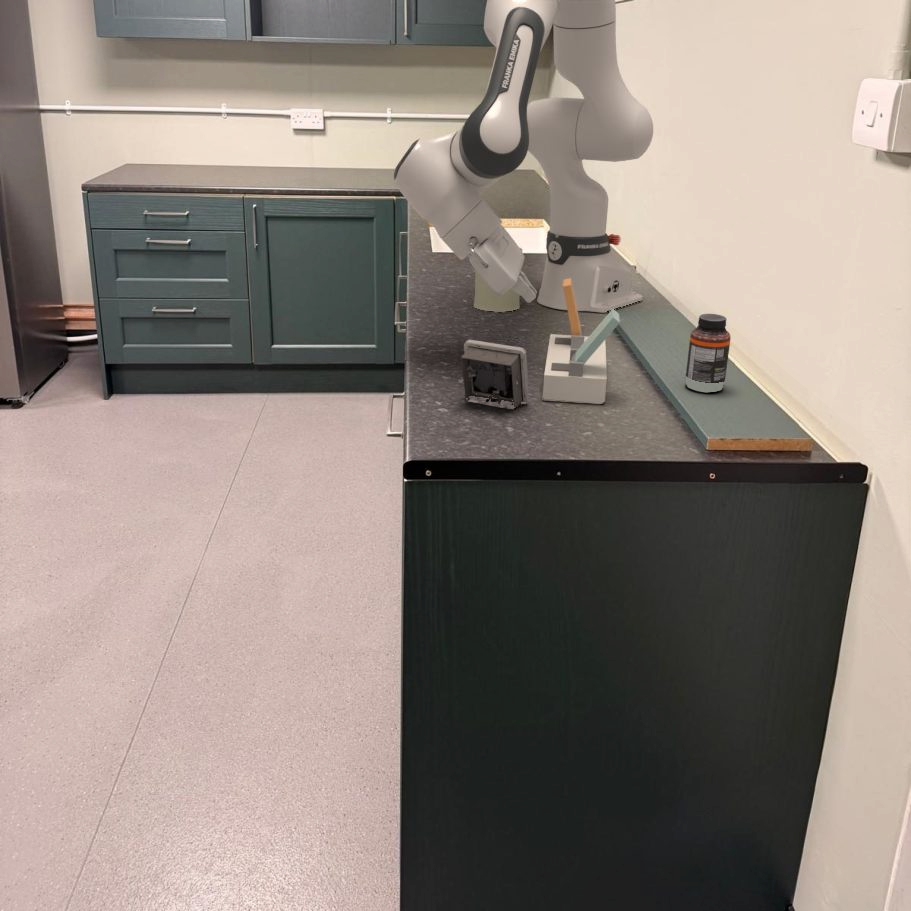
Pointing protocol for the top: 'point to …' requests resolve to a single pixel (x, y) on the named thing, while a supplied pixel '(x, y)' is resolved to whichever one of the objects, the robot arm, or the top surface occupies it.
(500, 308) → the can
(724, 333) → the supplement bottle
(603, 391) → the white switch base
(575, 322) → the rocker orange
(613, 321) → the rocker teal
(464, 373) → the electrical switch
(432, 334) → the top surface
